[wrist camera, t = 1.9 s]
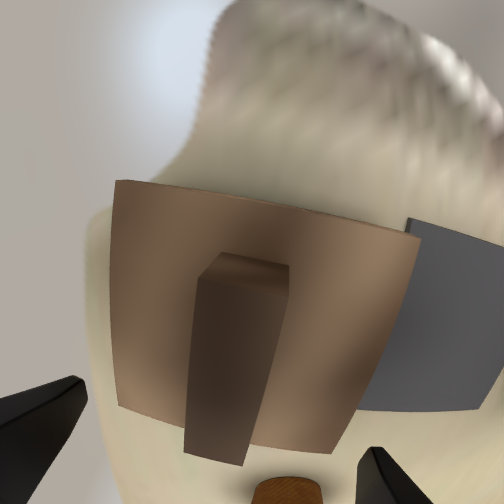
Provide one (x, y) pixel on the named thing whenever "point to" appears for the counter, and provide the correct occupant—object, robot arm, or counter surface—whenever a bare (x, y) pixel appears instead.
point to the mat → (444, 328)
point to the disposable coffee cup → (288, 491)
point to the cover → (248, 316)
